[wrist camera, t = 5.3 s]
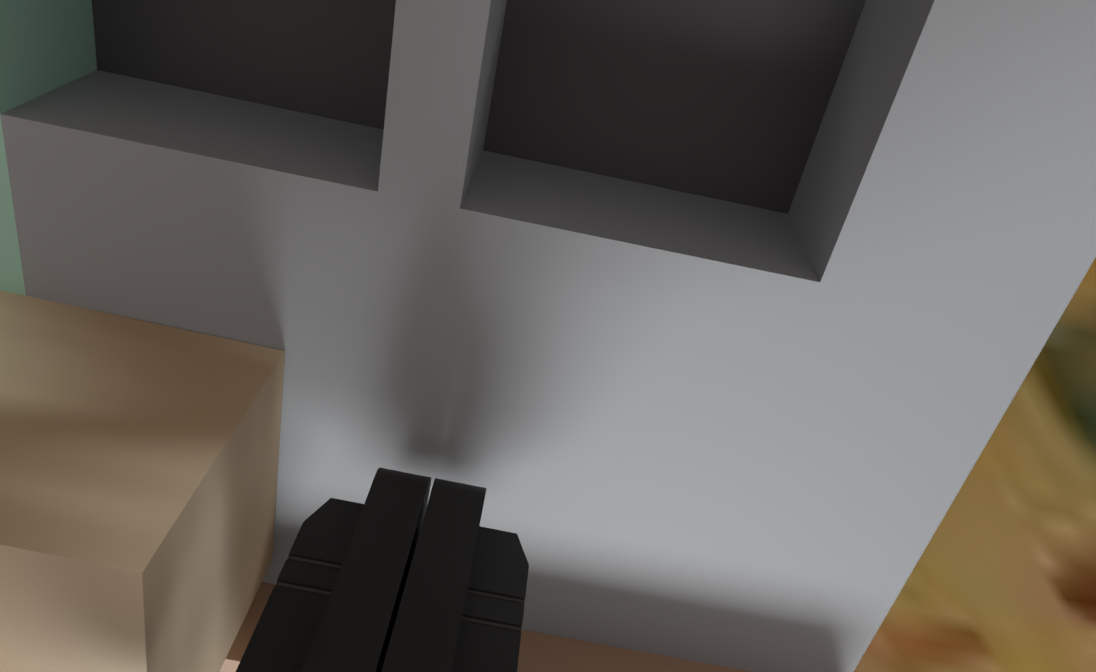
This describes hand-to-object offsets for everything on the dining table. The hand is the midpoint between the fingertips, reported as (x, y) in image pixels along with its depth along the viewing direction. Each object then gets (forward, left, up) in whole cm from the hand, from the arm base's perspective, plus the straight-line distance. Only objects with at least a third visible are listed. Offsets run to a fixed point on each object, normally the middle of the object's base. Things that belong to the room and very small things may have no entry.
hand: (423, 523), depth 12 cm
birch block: (+4, 0, -1) cm, 4 cm away
